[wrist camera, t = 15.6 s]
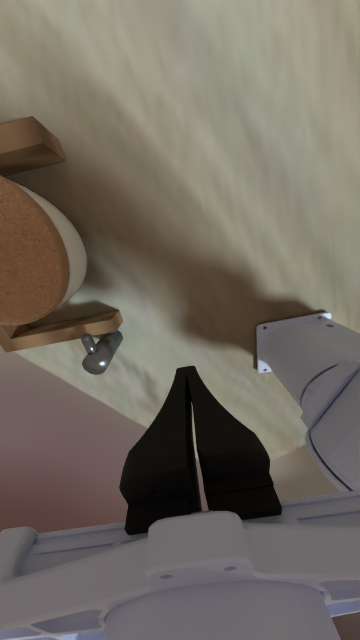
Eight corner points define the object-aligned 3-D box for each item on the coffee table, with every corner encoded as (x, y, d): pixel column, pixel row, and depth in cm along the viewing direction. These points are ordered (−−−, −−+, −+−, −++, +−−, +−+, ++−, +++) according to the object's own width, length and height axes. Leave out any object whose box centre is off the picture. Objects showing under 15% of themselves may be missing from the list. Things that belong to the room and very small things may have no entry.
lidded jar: (32, 306, 21) (-64, 347, 13) (-22, 206, 17) (-223, 165, 9) (116, 290, 21) (74, 322, 12) (80, 183, 17) (-22, 115, 8)
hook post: (113, 313, 22) (93, 335, 16) (125, 343, 24) (109, 372, 18) (95, 316, 22) (69, 339, 16) (108, 346, 24) (88, 376, 18)
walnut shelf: (58, 139, 15) (32, 116, 13) (123, 321, 22) (115, 331, 20) (-79, 174, 16) (-131, 159, 13) (26, 339, 23) (5, 352, 20)
